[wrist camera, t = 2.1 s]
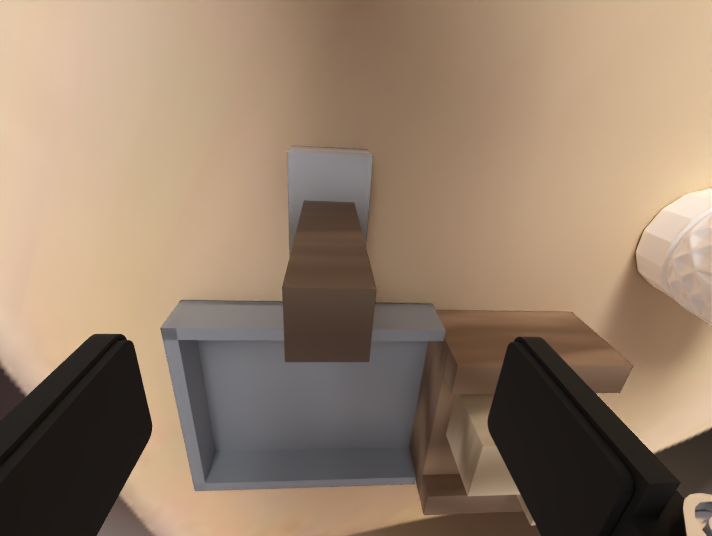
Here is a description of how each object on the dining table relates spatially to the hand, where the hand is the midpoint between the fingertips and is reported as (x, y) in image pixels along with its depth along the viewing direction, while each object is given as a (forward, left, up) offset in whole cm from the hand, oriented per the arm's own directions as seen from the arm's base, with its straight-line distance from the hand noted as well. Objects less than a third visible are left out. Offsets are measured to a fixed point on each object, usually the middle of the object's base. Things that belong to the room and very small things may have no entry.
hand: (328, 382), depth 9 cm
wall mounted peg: (-1, 0, -13) cm, 13 cm away
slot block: (+12, +12, -13) cm, 21 cm away
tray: (+12, -1, -13) cm, 18 cm away
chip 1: (+11, +10, -9) cm, 17 cm away
